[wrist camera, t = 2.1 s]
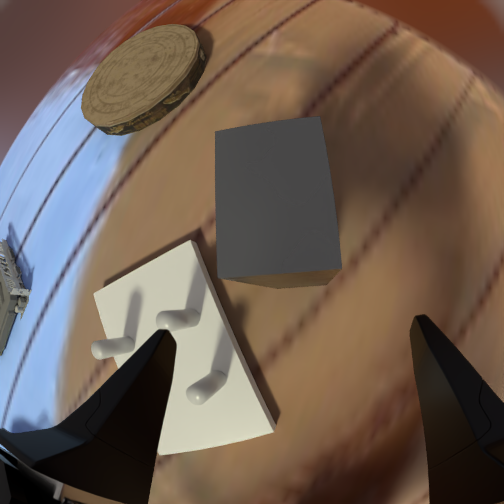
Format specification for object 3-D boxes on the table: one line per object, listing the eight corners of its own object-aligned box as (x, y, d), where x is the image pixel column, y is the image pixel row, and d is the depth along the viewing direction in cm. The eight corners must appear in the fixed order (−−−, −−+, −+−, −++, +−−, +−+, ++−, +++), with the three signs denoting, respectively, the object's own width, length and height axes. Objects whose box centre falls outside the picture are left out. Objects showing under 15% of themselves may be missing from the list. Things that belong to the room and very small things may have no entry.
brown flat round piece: (87, 156, 28) (71, 146, 25) (105, 68, 31) (94, 57, 28) (211, 108, 25) (200, 90, 22) (205, 25, 28) (197, 9, 25)
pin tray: (276, 425, 19) (263, 458, 14) (165, 449, 21) (136, 474, 16) (196, 242, 23) (164, 228, 18) (101, 294, 25) (62, 291, 20)
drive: (327, 284, 20) (344, 268, 8) (277, 288, 21) (217, 277, 8) (321, 217, 21) (321, 116, 9) (273, 222, 22) (215, 131, 9)
